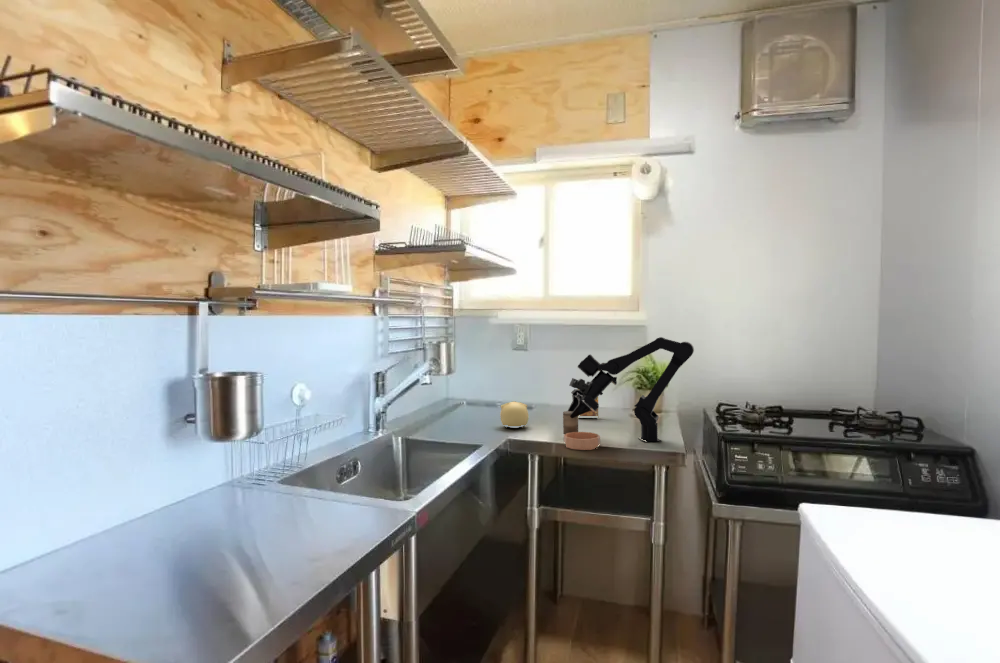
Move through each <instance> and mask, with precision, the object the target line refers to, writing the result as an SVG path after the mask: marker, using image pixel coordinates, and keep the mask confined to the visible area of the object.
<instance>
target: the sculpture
mask: <svg viewBox="0 0 1000 663" xmlns="http://www.w3.org/2000/svg"><path fill="white" fill-rule="evenodd" d="M499 413H500V421H501V424H502V426H503V425H508V426H521V425H526V424H528V423H529V419H530V418H529V411H528V404H526V403H523V402H520V401H511V402H506V403H503V404H501V405H500V412H499ZM526 426H527V425H526Z"/></svg>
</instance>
